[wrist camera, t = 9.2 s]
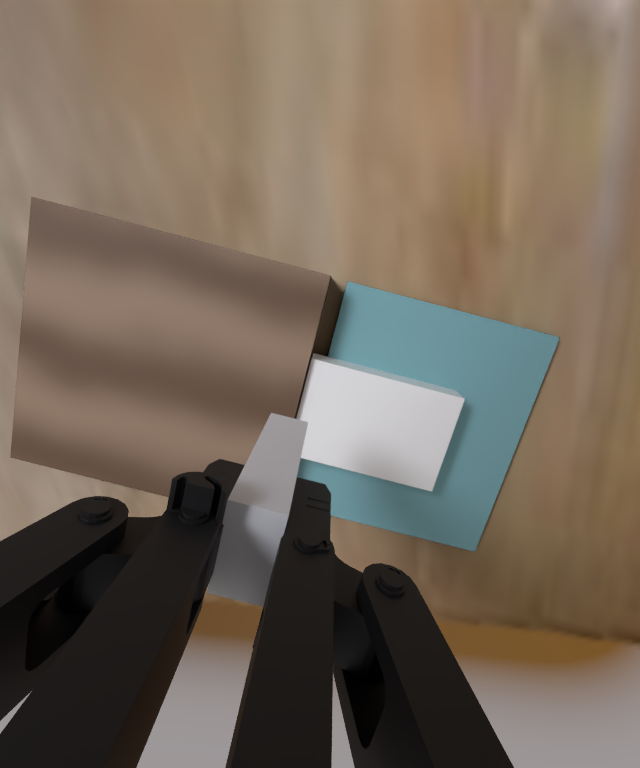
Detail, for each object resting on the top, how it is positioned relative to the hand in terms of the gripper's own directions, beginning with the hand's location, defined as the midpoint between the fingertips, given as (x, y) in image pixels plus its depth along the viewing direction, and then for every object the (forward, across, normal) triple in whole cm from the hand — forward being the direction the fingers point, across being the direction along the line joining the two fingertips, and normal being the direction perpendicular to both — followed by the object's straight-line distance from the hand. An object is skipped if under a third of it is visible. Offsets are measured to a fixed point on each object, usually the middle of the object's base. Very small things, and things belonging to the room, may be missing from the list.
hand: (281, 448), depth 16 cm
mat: (+10, +8, -1) cm, 13 cm away
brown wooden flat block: (+10, -8, -1) cm, 13 cm away
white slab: (+10, +5, -1) cm, 11 cm away
